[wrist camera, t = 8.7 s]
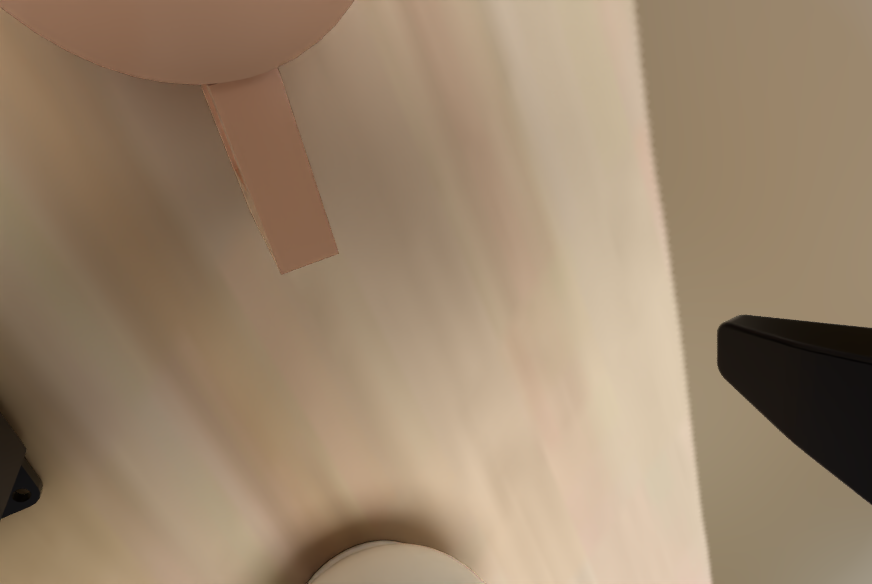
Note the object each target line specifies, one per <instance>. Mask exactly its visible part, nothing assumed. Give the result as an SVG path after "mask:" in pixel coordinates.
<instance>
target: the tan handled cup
mask: <svg viewBox="0 0 872 584" xmlns="http://www.w3.org/2000/svg"><path fill="white" fill-rule="evenodd" d="M353 1H354V0H0V7H1V8H2V9H3V10H5V11H6V12H8V13H9V14H10V15H12V16H13V17H14V18H16V19H17V20H19V21H20V22H21V23H23V24H24V25H25V26H27V27H28V28H30V29H31V30H32V31H34V32H35V33H37V34H39V35H40V36H42V37H44V38H45V39H47V40H49V41H51V42H52V43H54V44H56V45H58V46H59V47H61V48H63V49H64V50H66V51H68V52H70V53H72V54H74V55H77V56H79V57H81V58H83V59H86V60H88V61H90V62H92V63H95V64H97V65H99V66H102V67H105V68H108V69H111V70H114V71H117V72H120V73H123V74H127V75H130V76H133V77H138V78H143V79H148V80H153V81H158V82H163V83H176V84H190V85H198V84H200V85H201V88H202V90H203V93H204V96H205V98H206V101H207V103H208V106H209V108H210V111H211V113H212V116H213V119H214V121H215V124H216V126H217V129H218V131H219V134H220V136H221V139H222V142H223V144H224V147H225V149H226V152H227V154H228V157H229V159H230V162H231V165H232V167H233V170H234V172H235V175H236V177H237V180H238V182H239V185H240V188H241V190H242V193H243V195H244V198H245V200H246V203H247V206H248V208H249V211H250V213H251V215H252V217H253V219H254V221H255V223H256V225H257V227H258V229H259V231H260V233H261V235H262V237H263V239H264V241H265V243H266V245H267V247H268V249H269V251H270V253H271V255H272V257H273V259H274V261H275V263H276V265H277V267H278V269H279V271H280V273H281V275H282V274H284V273H287V272H290V271H293V270H295V269H298V268H301V267H304V266H306V265H309V264H312V263H314V262H317V261H320V260H323V259H325V258H328V257H331V256H334V255H336V254H339V252H338V249H337V246H336V243H335V240H334V237H333V234H332V231H331V228H330V225H329V222H328V219H327V216H326V213H325V210H324V206H323V203H322V200H321V197H320V194H319V191H318V188H317V185H316V182H315V179H314V176H313V173H312V170H311V167H310V164H309V161H308V158H307V155H306V152H305V149H304V145H303V142H302V139H301V136H300V133H299V130H298V127H297V124H296V121H295V118H294V115H293V112H292V109H291V106H290V103H289V100H288V97H287V94H286V91H285V88H284V85H283V81H282V78H281V75H280V72H279V69H278V67H279V66H281V65H283V64H285V63H287V62H289V61H291V60H293V59H295V58H297V57H298V56H299V55H301V54H302V53H304V52H305V51H306V50H308V49H309V48H310V47H312V46H313V45H315V44H316V43H317V42H318V41H319V40H321V39H322V38H323V37H324V36H325V35H326V34H327V33H328V32H329V31H330V30H331V29H332V28H333V27H334V26H335V25H336V24H337V22H338V21H339V20H340V19H341V17H342V16H343V15H344V13H345V12H346V11H347V10H348V8H349V7H350V6H351V4H352V3H353Z"/></svg>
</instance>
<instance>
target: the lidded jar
mask: <svg viewBox="0 0 872 584" xmlns="http://www.w3.org/2000/svg"><path fill="white" fill-rule="evenodd" d="M307 584H486V583H485V582H484V581H483V580H482V579H481V578H480V577H479V576H478V575H477V574H476V573H475V572H474V571H473V570H472V569H470V568H469V567H467V566H466V565H464V564H463V563H461V562H460V561H458V560H457V559H455V558H453V557H452V556H450V555H449V554H446V553H443V552H441V551H438V550H435V549H433V548H430V547H427V546H422V545H416V544H404V543H401V542H397V541H392V540H379V541H371V542H367V543H363V544H360V545H357V546H354V547H352V548H349V549H347V550H345V551H343V552H341V553H340V554H338V555H337V556H335V557H333V558H332V559H330V560H329V561H328V562H327V563H325V564H324V565H323V566H322V567H321V568H320V569H319V570H318V571H317V572H316V573H315V574H314V575H313V576H312V578H311V579H310V580H309V581H308V583H307Z"/></svg>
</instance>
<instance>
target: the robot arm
mask: <svg viewBox="0 0 872 584" xmlns="http://www.w3.org/2000/svg"><path fill="white" fill-rule="evenodd" d="M717 366H718V369H719V371H720V373H721V375H722V376H723V377H724V378H725V379H726V380H727V381H728V382H729V383H730V384H731V385H732V386H733V387H734V388H735V389H736V390H737V391H738V392H739V393H740V394H741V395H743V397H745V398H746V399H747V400H748V401H749V402H750V403H751V404H752V405H753V406H754V407H755V408H756V409H758V411H759V412H760V413H762V414H763V415H764V416H765V417H766V418H767V419H768V420H769V421H770V422H771V423H772V424H773V425H774V426H776V428H777V429H779V430H780V431H781V432H782V433H783V434H784V435H785V436H786V437H787V438H788V439H790V440H791V441H792V442H793V443H794V444H795V445H796V446H798V447H799V448H800V449H801V450H803V451H804V452H805V453H806V454H808V455H809V456H810V457H811V458H812V459H814V460H815V461H816V462H818V463H819V464H820V465H822V466H823V467H824V468H825V469H827V470H828V471H829V472H830V473H832V474H833V475H834V476H835V477H837V478H838V479H839V480H840V481H842V482H843V483H844V484H846V485H847V486H848V487H849V488H851V489H852V490H853V491H854V492H856V493H857V494H858V495H860V496H861V497H862V498H863V499H865V500H866V501H867V502H868V503H870V504H871V505H872V328H867V327H857V326H847V325H838V324H827V323H819V322H809V321H799V320H790V319H780V318H771V317H761V316H752V315H739V316H736V317H734V318H732V319H730V320H728V321H725V322H723V323H722V324H721V325H720V326H719V328H718V330H717ZM25 454H26V447H25V446H24V444H23V443H22V442H21V440H20V439H19V437H18V436H17V435H16V433H15V432H14V430H13V429H12V428H11V426H10V425H9V423H8V422H7V421H6V419H5V418H4V417H3V415H2V414H1V412H0V520H1V519H2V518H4V517H6V516H9V515H11V514H13V513H16V512H18V511H21V510H23V509H25V508H28V507H30V506H32V505H33V504H35V503H36V502H37V501H38V499H39V498H40V495H41V492H42V487H43V484H42V482H41V480H40V478H39V477H38V476H37V474H36V473H35V472H34V470H33V469H32V467H31V466H30V465H29V463H28V462H27V461H26V459H25V458H24V456H25ZM17 489H27V490H29V491H30V493H27V494H19V493H18V492H16V490H17Z"/></svg>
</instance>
